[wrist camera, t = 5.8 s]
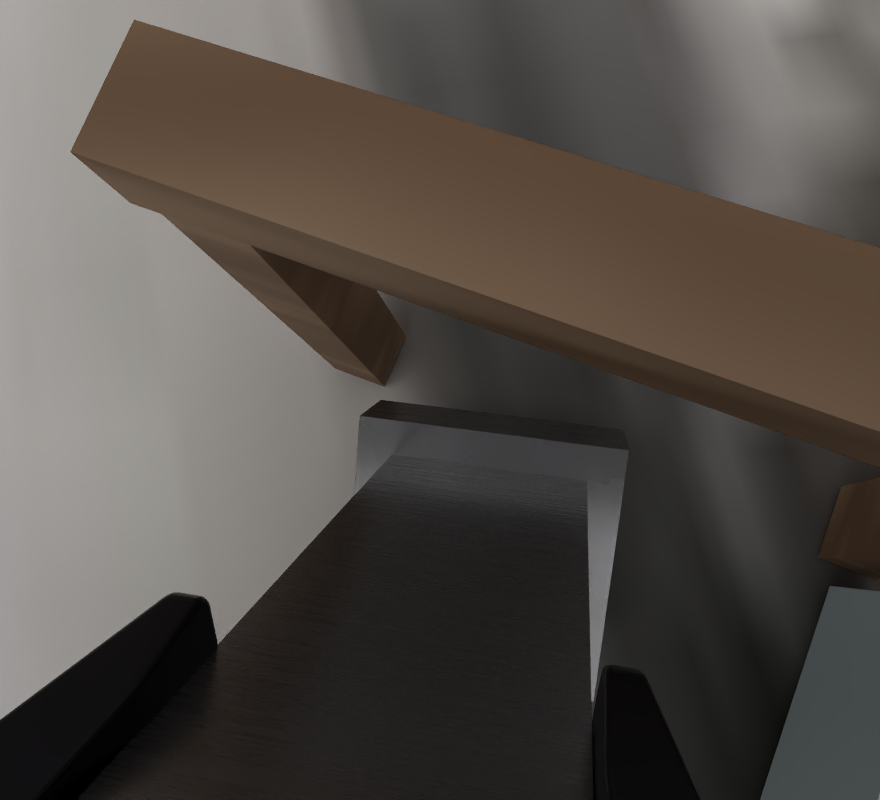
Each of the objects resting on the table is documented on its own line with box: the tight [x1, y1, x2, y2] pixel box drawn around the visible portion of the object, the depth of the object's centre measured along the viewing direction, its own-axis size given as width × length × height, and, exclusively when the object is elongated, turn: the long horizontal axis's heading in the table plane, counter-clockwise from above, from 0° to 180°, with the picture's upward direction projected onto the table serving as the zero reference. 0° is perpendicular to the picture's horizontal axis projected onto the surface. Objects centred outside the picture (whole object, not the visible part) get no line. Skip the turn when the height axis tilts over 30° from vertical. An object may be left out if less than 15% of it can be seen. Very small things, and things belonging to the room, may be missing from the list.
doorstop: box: [78, 400, 629, 800], centre depth 13 cm, size 6×6×17 cm
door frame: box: [71, 20, 880, 581], centre depth 16 cm, size 2×16×14 cm, turn 68°
